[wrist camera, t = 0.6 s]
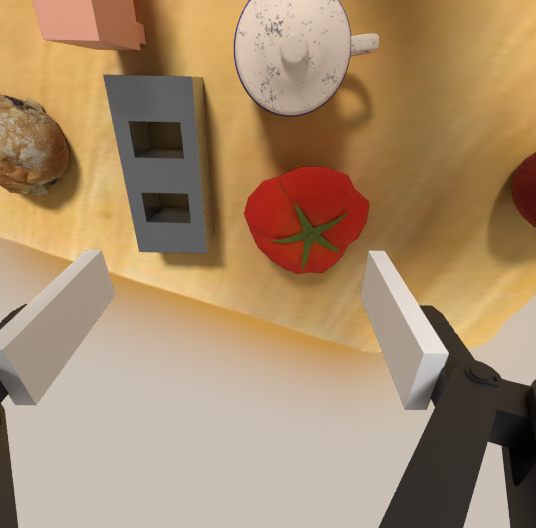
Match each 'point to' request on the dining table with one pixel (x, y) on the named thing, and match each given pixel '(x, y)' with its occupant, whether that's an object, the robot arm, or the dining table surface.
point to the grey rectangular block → (163, 160)
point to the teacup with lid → (295, 52)
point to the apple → (526, 189)
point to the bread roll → (29, 147)
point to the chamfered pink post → (91, 23)
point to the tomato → (306, 218)
